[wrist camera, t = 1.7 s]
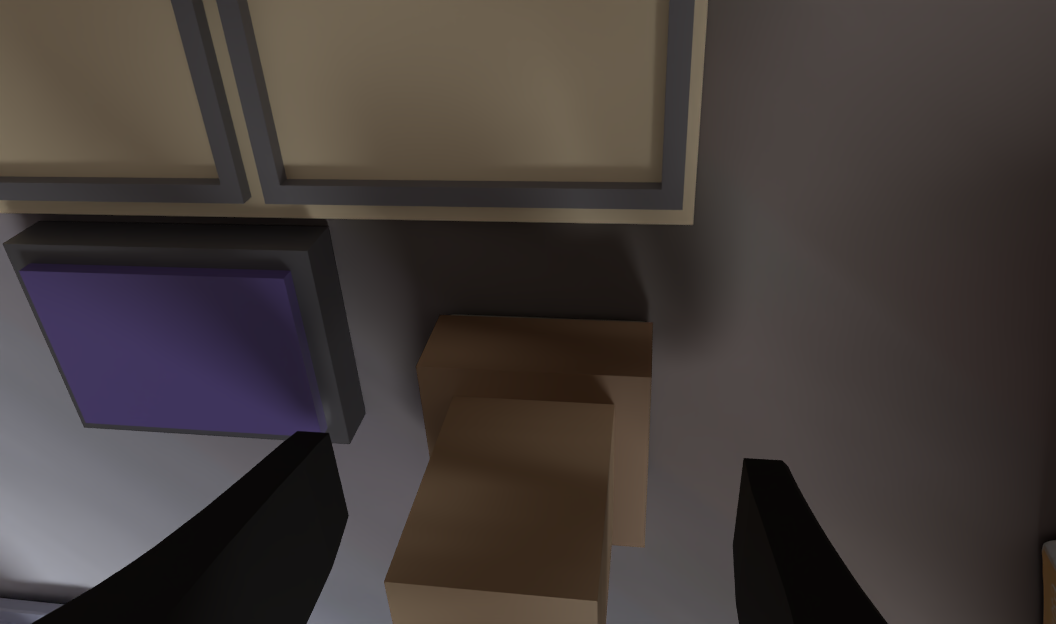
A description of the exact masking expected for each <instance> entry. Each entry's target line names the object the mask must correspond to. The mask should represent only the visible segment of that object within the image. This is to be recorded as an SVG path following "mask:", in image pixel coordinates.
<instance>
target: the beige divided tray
mask: <svg viewBox="0 0 1056 624" xmlns="http://www.w3.org/2000/svg"><path fill="white" fill-rule="evenodd" d="M707 9H708V0H0V213H29V214H87V215H145V216H203V217H261V218H319V219H377V220H435V221H493V222H551V223H609V224H667V225H693V219H694V204H695V189H696V174H697V159H698V144H699V129H700V114H701V99H702V84H703V69H704V54H705V39H706V24H707Z"/></svg>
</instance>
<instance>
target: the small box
mask: <svg viewBox="0 0 1056 624" xmlns="http://www.w3.org/2000/svg"><path fill="white" fill-rule="evenodd" d="M1042 559H1043V584H1044V618H1043V624H1056V540H1052V541H1048V542H1045V543H1044V544H1043V548H1042Z"/></svg>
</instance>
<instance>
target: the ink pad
mask: <svg viewBox="0 0 1056 624" xmlns="http://www.w3.org/2000/svg"><path fill="white" fill-rule="evenodd" d="M3 246H4V248H5V250H6V253H7V255H8V257H9V259H10V262H11V264H12V266H13V268H14V271H15V273H16V275H17V277H18V280H19V282H20V284H21V286H22V289H23V291H24V293H25V295H26V298H27V300H28V302H29V304H30V307H31V309H32V311H33V313H34V316H35V318H36V320H37V322H38V325H39V327H40V329H41V331H42V334H43V336H44V338H45V340H46V343H47V345H48V347H49V349H50V352H51V354H52V356H53V358H54V361H55V363H56V365H57V367H58V370H59V372H60V374H61V376H62V379H63V381H64V383H65V385H66V388H67V390H68V392H69V394H70V397H71V399H72V401H73V403H74V406H75V408H76V410H77V412H78V415H79V417H80V419H81V421H82V424H83V426H84V427H85V428H101V429H117V430H133V431H148V432H164V433H180V434H196V435H212V436H228V437H244V438H260V439H275V440H287V439H288V438H289V437H290V436H292V435H293V434H294V433H295V432H297V431H307V432H323V433H329V434H330V438H331V443H339V444H350V443H351V441H352V439H353V437H354V435H355V433H356V431H357V429H358V427H359V425H360V423H361V421H362V419H363V417H364V415H365V414H366V413H365V408H364V403H363V398H362V393H361V388H360V383H359V378H358V373H357V368H356V363H355V358H354V353H353V348H352V343H351V338H350V333H349V328H348V323H347V318H346V313H345V308H344V303H343V298H342V293H341V288H340V283H339V278H338V273H337V268H336V263H335V258H334V253H333V248H332V243H331V238H330V233H329V228H328V227H325V226H272V225H219V224H166V223H113V222H60V221H38V222H37V223H35V224H33V225H32V226H30V227H29V228H27V229H25V230H24V231H22V232H21V233H19V234H17V235H16V236H14V237H13V238H11V239H9V240H8V241H6V242H5V243H3Z"/></svg>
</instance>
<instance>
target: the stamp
mask: <svg viewBox="0 0 1056 624" xmlns="http://www.w3.org/2000/svg"><path fill="white" fill-rule="evenodd" d="M652 335H653V323H649V322H645V321H624V320H596V319H568V318H541V317H513V316H485V315H457V314H452V315H440V316H439V318H438V320H437V322H436V325H435V327H434V329H433V331H432V333H431V335H430V337H429V340H428V342H427V344H426V346H425V348H424V350H423V353H422V355H421V357H420V359H419V361H418V363H417V365H416V370H417V376H418V383H419V389H420V396H421V403H422V409H423V416H424V423H425V429H426V436H427V442H428V449H429V456H430V460H429V463H428V466H427V468H426V471H425V474H424V476H423V479H422V482H421V484H420V487H419V490H418V492H417V495H416V498H415V500H414V503H413V506H412V508H411V511H410V514H409V516H408V519H407V522H406V524H405V527H404V530H403V532H402V535H401V538H400V540H399V543H398V546H397V548H396V551H395V554H394V556H393V559H392V562H391V564H390V567H389V570H388V573H387V575H386V578H385V581H384V584H385V589H386V593H387V598H388V603H389V607H390V612H391V617H392V621H393V624H606V613H607V600H608V586H609V573H610V559H611V545H619V546H632V547H644V548H645V524H646V500H647V475H648V451H649V427H650V403H651V378H652Z"/></svg>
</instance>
